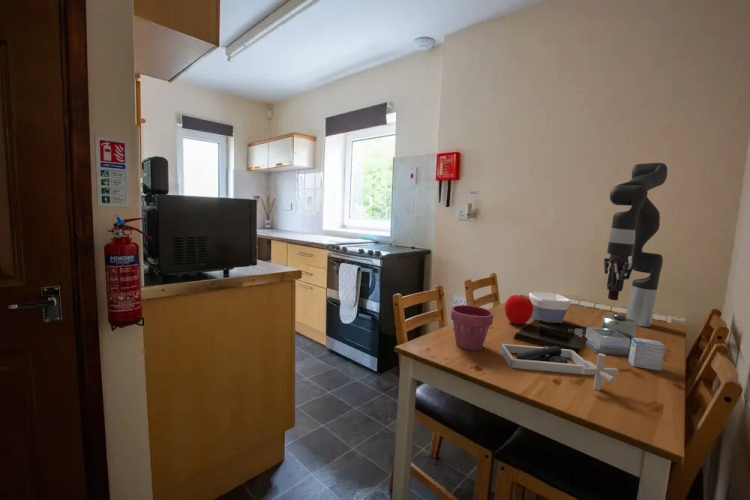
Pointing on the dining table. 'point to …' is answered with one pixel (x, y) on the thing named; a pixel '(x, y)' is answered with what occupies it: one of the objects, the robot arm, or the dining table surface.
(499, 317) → the dining table surface
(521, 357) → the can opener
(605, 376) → the pipe connector
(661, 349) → the medicine box
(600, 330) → the motor mount
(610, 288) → the bolt
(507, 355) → the gray parallelogram frame
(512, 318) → the tomato
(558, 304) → the bowl
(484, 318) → the plant pot
